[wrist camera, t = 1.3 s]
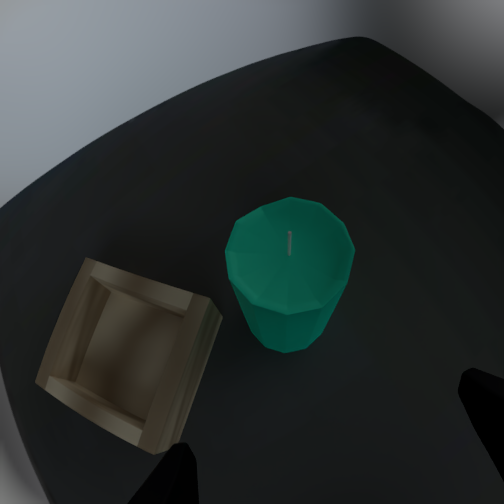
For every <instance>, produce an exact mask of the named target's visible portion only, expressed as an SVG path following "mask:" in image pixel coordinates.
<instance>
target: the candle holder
mask: <svg viewBox="0 0 504 504" xmlns="http://www.w3.org/2000/svg"><path fill="white" fill-rule="evenodd" d="M222 318H223V317H222V315H221V314H220V312H219V311H218V309H217V308H216V306H215V305H214V303H213V301H212V300H211V298H208V297H205V296H201V295H198V294H195V293H191V292H188V291H185V290H182V289H179V288H175V287H172V286H169V285H166V284H163V283H160V282H157V281H153V280H150V279H147V278H144V277H141V276H138V275H135V274H132V273H129V272H126V271H123V270H120V269H118V268H115V267H112V266H109V265H106V264H103V263H100V262H97V261H95V260H92V259H89V258H86V259H85V261H84V263H83V265H82V267H81V269H80V271H79V273H78V275H77V277H76V280H75V282H74V284H73V286H72V288H71V290H70V293H69V295H68V297H67V299H66V302H65V304H64V306H63V309H62V311H61V313H60V316H59V318H58V321H57V323H56V326H55V328H54V331H53V333H52V336H51V338H50V341H49V344H48V346H47V349H46V352H45V355H44V357H43V360H42V363H41V366H40V369H39V372H38V375H37V378H36V381H35V383H37V384H38V385H39V386H40V387H42V388H43V389H44V390H46V391H47V392H49V393H50V394H51V395H53V396H54V397H56V398H57V399H58V400H60V401H61V402H63V403H64V404H66V405H67V406H69V407H70V408H72V409H73V410H75V411H76V412H78V413H79V414H81V415H82V416H84V417H86V418H87V419H89V420H90V421H92V422H94V423H95V424H97V425H99V426H100V427H102V428H104V429H106V430H107V431H109V432H111V433H113V434H114V435H116V436H118V437H120V438H122V439H124V440H125V441H127V442H129V443H131V444H133V445H135V446H137V447H139V448H141V449H143V450H145V451H147V452H149V453H151V454H153V455H155V454H158V453H161V452H164V451H167V450H169V449H170V447H171V446H172V445H173V444H174V443H178V442H179V439H180V437H181V434H182V431H183V428H184V425H185V422H186V420H187V417H188V414H189V411H190V408H191V405H192V403H193V400H194V397H195V394H196V391H197V389H198V386H199V383H200V380H201V377H202V374H203V372H204V369H205V366H206V363H207V360H208V358H209V355H210V352H211V349H212V346H213V344H214V341H215V338H216V335H217V332H218V330H219V327H220V324H221V321H222Z"/></svg>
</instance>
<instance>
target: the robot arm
mask: <svg viewBox="0 0 504 504" xmlns="http://www.w3.org/2000/svg"><path fill="white" fill-rule="evenodd" d="M458 394H459V397H460V399H461V401H462V403H463V405H464V407H465V410H466V412H467V414H468V416H469V418H470V421H471V423H472V425H473V427H474V429H475V431H476V432H477V434H478V436H479V438H480V439H481V441H482V443H483V445H484V446H485V448H486V450H487V452H488V453H489V455H490V457H491V459H492V461H493V462H494V464H495V466H496V468H497V470H498V472H499V473H500V475H501V477H502V479H503V481H504V379H502V378H500V377H497V376H494V375H491V374H489V373H486V372H483V371H481V370H478V369H476V368H470V369H468V370H466V371H464V372H463V373H462V376H461V380H460V384H459V387H458ZM128 504H199V496H198V480H197V463H196V458H195V456H194V454H193V452H192V451H191V449H190V447H189V445H188V444H187V443H174V444H173V445H172V446H171V447H170V449H169V450H168V451H167V453H166V454H165V455H164V457H163V458H162V459H161V461H160V462H159V463H158V465H157V466H156V467H155V469H154V470H153V471H152V473H151V474H150V475H149V477H148V478H147V479H146V480H145V482H144V483H143V484H142V486H141V487H140V488H139V490H138V491H137V492H136V493H135V495H134V496H133V497H132V498H131V500H130V501H129V502H128Z"/></svg>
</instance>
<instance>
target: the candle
mask: <svg viewBox="0 0 504 504" xmlns="http://www.w3.org/2000/svg"><path fill="white" fill-rule="evenodd" d="M354 253H355V248H354V246H353V243H352V241H351V239H350V236H349V234H348V232H347V229H346V227H345V225H344V223H343V222H342V221H341V220H340V219H338V218H337V217H336V216H335V215H334V214H333V213H332V212H330V211H329V210H328V209H327V208H326V207H325V206H323V205H322V204H321V203H318V202H313V201H308V200H304V199H299V198H294V197H288V198H285V199H282V200H279V201H276V202H273V203H270V204H267V205H264V206H261V207H259V208H257V209H256V210H254V211H252V212H250V213H249V214H247V215H245V216H244V217H242V218H240V219H238V220H237V221H236V222H235V224H234V227H233V230H232V233H231V235H230V238H229V241H228V244H227V246H226V249H225V256H226V263H227V270H228V277H229V280H230V283H231V285H232V288H233V290H234V292H235V295H236V297H237V300H238V302H239V304H240V307H241V309H242V311H243V314H244V316H245V319H246V321H247V323H248V326H249V328H250V330H251V332H252V333H253V334H254V336H255V337H256V338H257V339H258V340H259V341H260V342H261V343H262V344H263V345H264V347H267V348H270V349H273V350H276V351H279V352H283V353H288V352H293V351H297V350H302V349H306V348H307V347H308V346H309V345H310V344H311V343H312V342H313V341H315V340H316V339H317V338H318V337H319V336H320V335H321V334H322V332H323V330H324V328H325V326H326V324H327V322H328V320H329V318H330V316H331V315H332V313H333V311H334V309H335V307H336V305H337V303H338V301H339V299H340V297H341V295H342V293H343V291H344V289H345V287H346V284H347V282H348V278H349V274H350V270H351V266H352V261H353V257H354Z"/></svg>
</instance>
